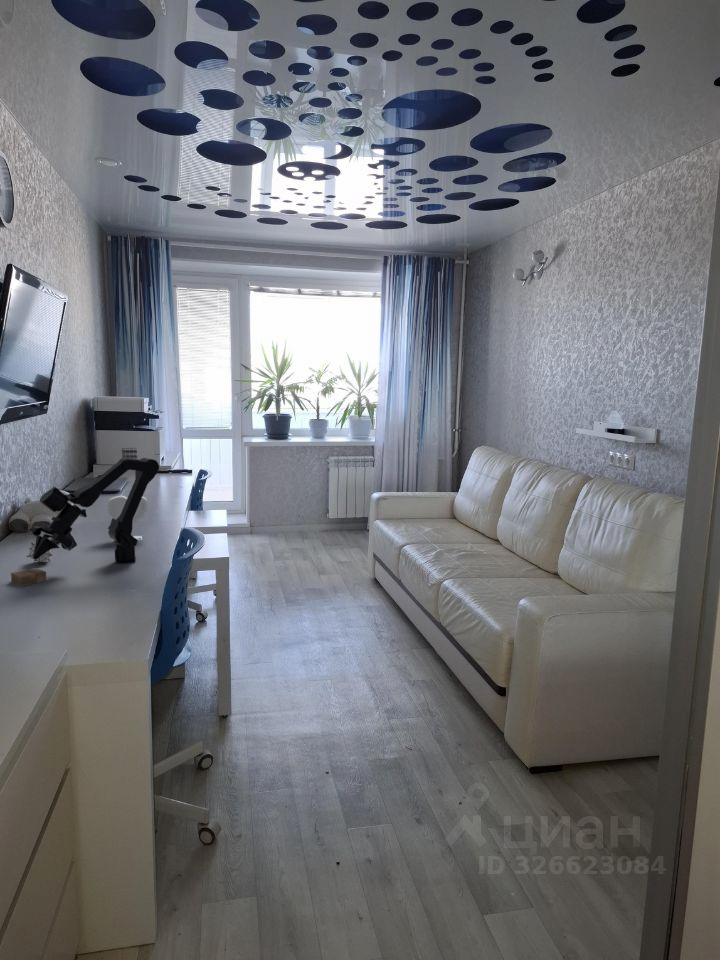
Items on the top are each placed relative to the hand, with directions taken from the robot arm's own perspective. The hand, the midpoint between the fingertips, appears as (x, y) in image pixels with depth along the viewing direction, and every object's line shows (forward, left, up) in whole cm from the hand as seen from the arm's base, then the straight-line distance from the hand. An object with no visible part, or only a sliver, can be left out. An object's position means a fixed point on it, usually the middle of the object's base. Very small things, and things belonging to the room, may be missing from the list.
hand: (34, 558), depth 212 cm
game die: (+1, -21, -7) cm, 22 cm away
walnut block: (-2, -1, -6) cm, 6 cm away
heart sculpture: (-28, -50, -7) cm, 58 cm away
